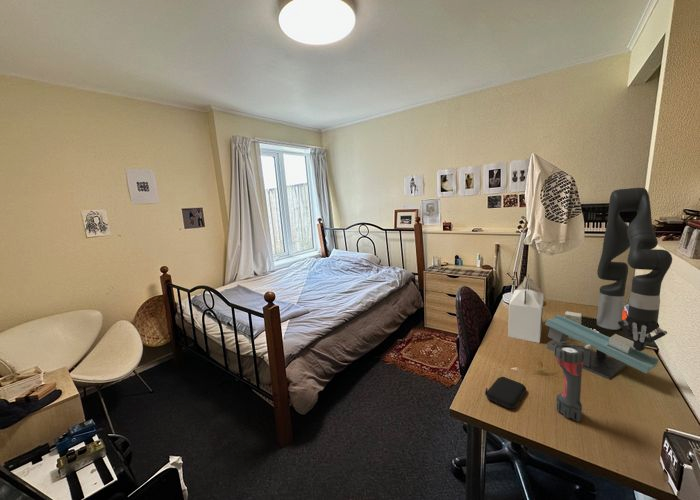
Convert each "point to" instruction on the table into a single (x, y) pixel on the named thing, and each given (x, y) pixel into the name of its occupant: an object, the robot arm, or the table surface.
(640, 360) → the seesaw beam
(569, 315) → the skincare box
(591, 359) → the beam stand
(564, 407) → the flashlight
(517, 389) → the carrying case or bag
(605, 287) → the robot arm
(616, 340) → the steel slider
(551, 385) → the table surface
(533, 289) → the gable box
